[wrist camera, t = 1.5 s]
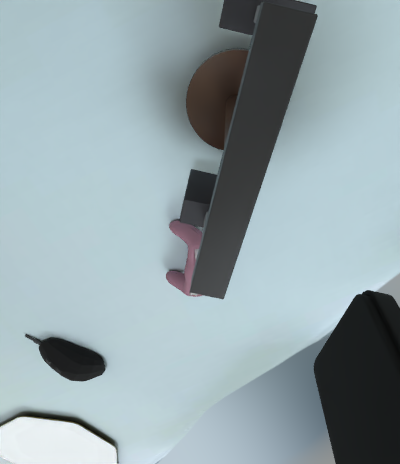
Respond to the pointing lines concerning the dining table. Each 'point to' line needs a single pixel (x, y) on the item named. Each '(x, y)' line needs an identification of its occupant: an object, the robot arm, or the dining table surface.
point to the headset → (246, 134)
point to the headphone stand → (215, 95)
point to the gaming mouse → (70, 359)
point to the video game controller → (193, 241)
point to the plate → (52, 443)
